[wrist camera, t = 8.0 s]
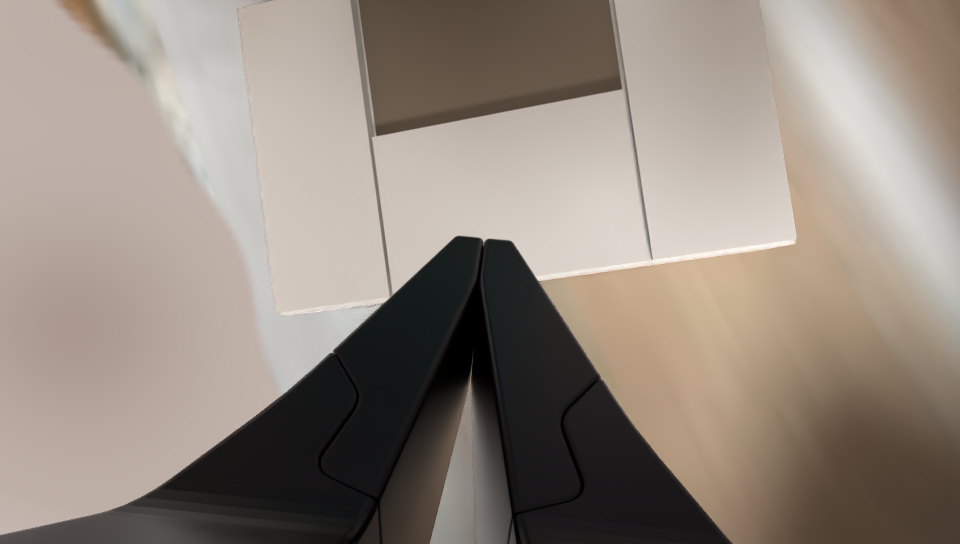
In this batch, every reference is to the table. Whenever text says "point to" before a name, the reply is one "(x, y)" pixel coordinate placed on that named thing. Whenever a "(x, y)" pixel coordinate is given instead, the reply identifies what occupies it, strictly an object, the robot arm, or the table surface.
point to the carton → (507, 137)
